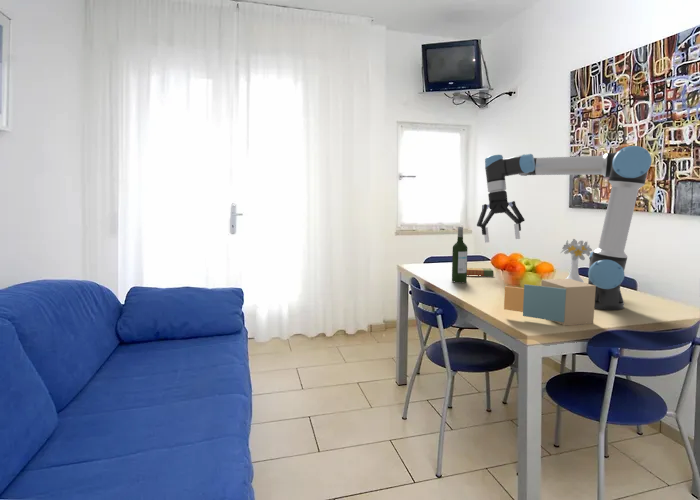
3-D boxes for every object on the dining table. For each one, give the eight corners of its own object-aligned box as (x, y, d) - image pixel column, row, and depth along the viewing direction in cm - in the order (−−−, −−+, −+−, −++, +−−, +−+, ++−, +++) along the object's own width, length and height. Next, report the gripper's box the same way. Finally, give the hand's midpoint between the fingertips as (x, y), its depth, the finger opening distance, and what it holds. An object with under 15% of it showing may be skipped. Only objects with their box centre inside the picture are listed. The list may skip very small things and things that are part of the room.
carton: (463, 274, 256) (463, 267, 256) (490, 274, 254) (491, 267, 254) (465, 276, 248) (465, 269, 248) (493, 277, 246) (493, 270, 246)
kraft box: (566, 313, 169) (568, 278, 167) (593, 323, 155) (595, 285, 153) (539, 314, 166) (541, 279, 165) (564, 325, 153) (566, 287, 151)
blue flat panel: (504, 312, 165) (505, 282, 163) (564, 321, 152) (566, 288, 151) (503, 313, 164) (505, 282, 162) (563, 322, 152) (565, 289, 150)
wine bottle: (459, 279, 238) (460, 226, 234) (469, 282, 231) (471, 227, 227) (448, 281, 234) (449, 226, 230) (459, 283, 227) (460, 227, 223)
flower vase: (566, 294, 201) (569, 241, 198) (554, 286, 219) (557, 238, 216) (596, 295, 199) (599, 242, 196) (581, 286, 217) (584, 238, 214)
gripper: (521, 189, 187) (526, 237, 187) (466, 195, 186) (471, 243, 186) (529, 187, 180) (534, 237, 180) (471, 193, 179) (477, 243, 179)
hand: (502, 240), depth 183 cm, fingers open, 13 cm apart
